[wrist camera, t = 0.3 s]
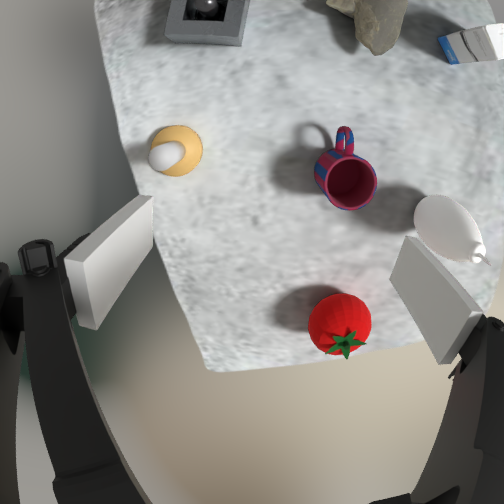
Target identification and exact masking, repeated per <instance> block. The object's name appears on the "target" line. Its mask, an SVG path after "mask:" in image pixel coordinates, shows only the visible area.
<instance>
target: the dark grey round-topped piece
mask: <svg viewBox="0 0 504 504" xmlns="http://www.w3.org/2000/svg"><path fill="white" fill-rule="evenodd" d="M194 5H195V6H196V8H197V9H198V14H197V18H198V21H222V22H224V18H225V13H226V8H225V7H224V6H223V5H222V4H219V3H217V1H216V0H194Z"/></svg>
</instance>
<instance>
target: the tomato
mask: <svg viewBox="0 0 504 504" xmlns="http://www.w3.org/2000/svg"><path fill="white" fill-rule="evenodd" d="M308 330H309V334H310V337H311V340H312V341H313V343H314V344H315V345H316V346H317V348H318V349H320V350H322V351H323V352H325V354H331V355H344V356H345V358H346V359H348V356H349V353H350V352H352V351H354V350H356V349H358V348H359V347H360V346H361V345H364V344H366V343H364V342H365V341H366V339H367V338H368V336H369V334H370V331H371V314H370V311H369V310H368V308H367V306H366V305H365V303H364V302H363V301H361V300H360V299H359V298H357V297H356V296H353V295H350V294H334V295H330V296H328V297H326V298H324V299H323V300H321V301H320V302H319V303H318V304H317V305H316V306H315V307H314V309H313V311H312V313H311V315H310V317H309V323H308Z"/></svg>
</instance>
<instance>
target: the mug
mask: <svg viewBox="0 0 504 504" xmlns="http://www.w3.org/2000/svg"><path fill="white" fill-rule="evenodd" d="M344 135H345V150H344ZM353 151H354V137H353V133H352V131H351V129H350V128H349V127H346V126H342V127H339V129H338V131H337V135H336V145H335V149H332V150H329V151H327V152H325V153H324V154H322V155H321V156H320V157H319V159H318V160H317V162H316V165H315V169H314V176H315V180H316V182H317V184H318V186H319V187H320V188H321V190H322V191H323V192H324V194H325V195H326V196H327V198H328V199H329V201H330V202H331V203H332V204H333V205H335V206H336V207H338V208H340V209H343V210H356V209H359V208H361V207H363V206H365V205H366V204H367V203H368V202H369V201H370V200H371V199H372V198H373V196H374V194H375V191H376V187H377V178H376V174H375V171H374V169H373V167H372V166H371V165H370V164H369V163H368V162H367V161H366V160H364V159H362V158H360V157H358V156H356V155H354V154H353Z"/></svg>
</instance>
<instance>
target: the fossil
mask: <svg viewBox="0 0 504 504" xmlns="http://www.w3.org/2000/svg"><path fill="white" fill-rule="evenodd" d="M326 4H327V5H328V6H330V7H332V8H335V9H337V10H339V11H340V12H342V13H343V14H345V15H347V16H349V17H351V18H354V23H355V29H356V33H355V35H356V39H357V40H358V41H360V42H361V43H362V44H363V45H364V46H365V47H367V48H369V49H370V51H371V52H372V54H373V55H374V56H377V55H382V54H384V53H385V52H386V51H388V50H389V49H391V48H392V47H393V46H394V44H395V42H396V41H397V39H398V37H399V35H400V31H401V25H402V22H403V17H404V14H405V12H406V9H407V4H408V1H407V0H327V1H326Z"/></svg>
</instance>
